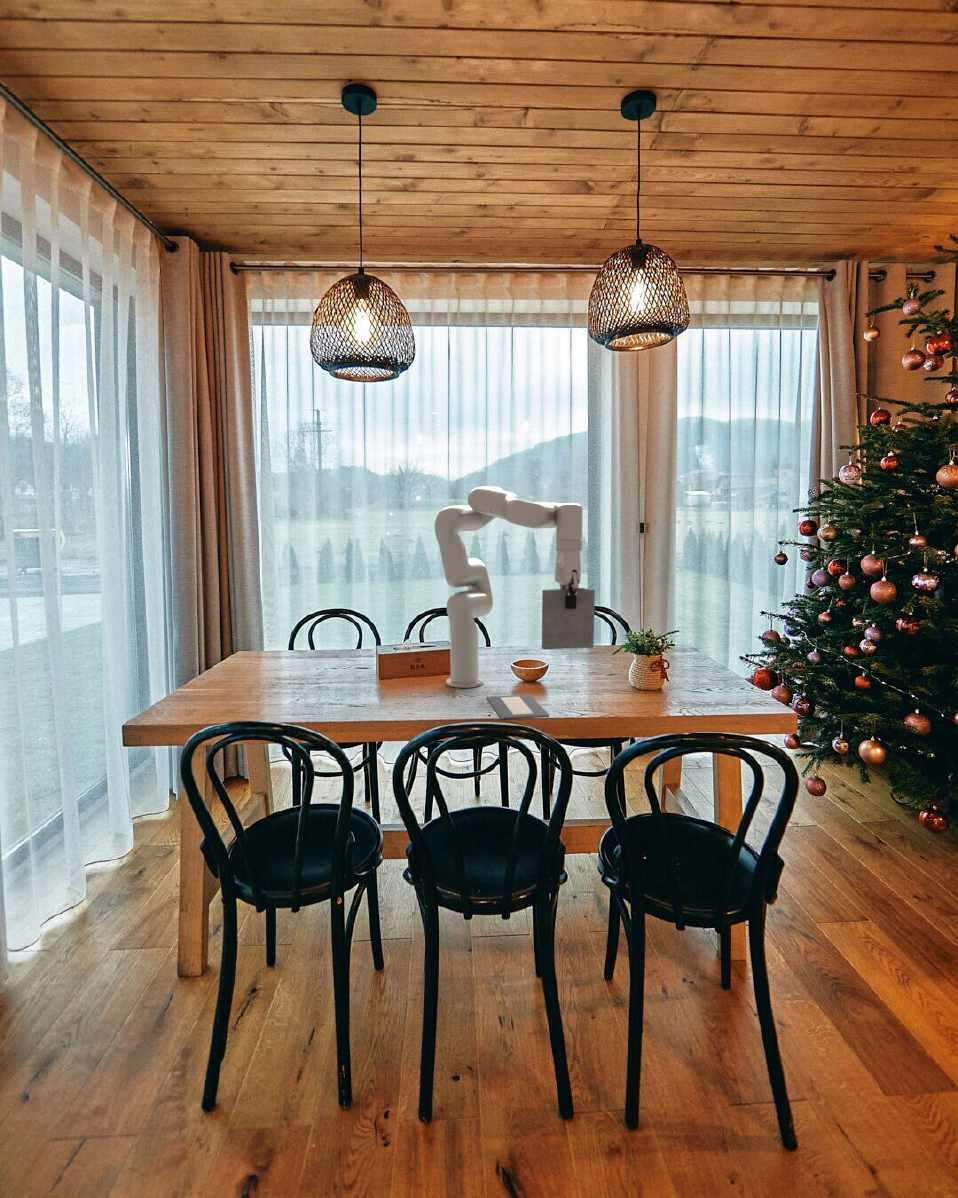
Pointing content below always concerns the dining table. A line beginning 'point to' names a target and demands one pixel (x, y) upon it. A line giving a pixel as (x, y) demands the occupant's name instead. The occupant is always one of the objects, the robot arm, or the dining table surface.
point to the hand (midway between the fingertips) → (567, 606)
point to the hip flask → (567, 619)
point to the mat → (516, 706)
